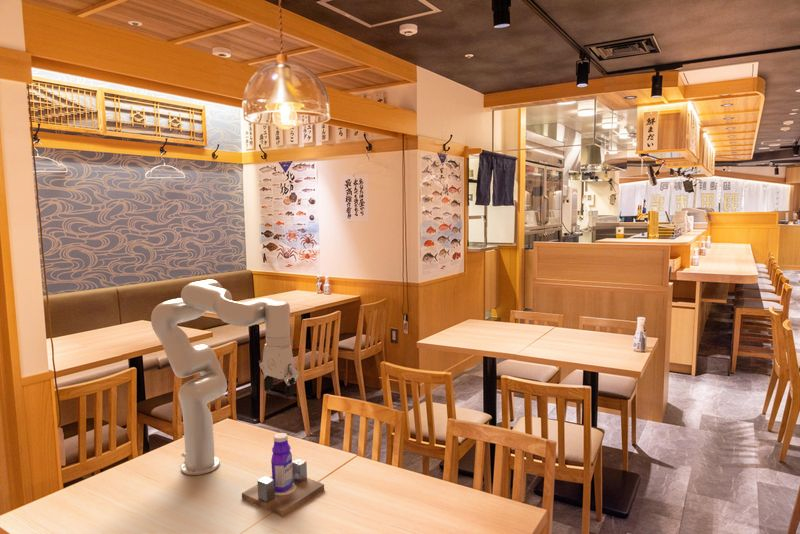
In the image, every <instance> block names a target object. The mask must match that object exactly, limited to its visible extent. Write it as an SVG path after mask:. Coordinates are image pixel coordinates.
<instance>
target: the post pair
mask: <svg viewBox="0 0 800 534" xmlns="http://www.w3.org/2000/svg"><path fill="white" fill-rule="evenodd" d="M307 471H308V470H307V461H306V460H303V459H301V458H295V459H293V460H292V472H293V480H294V481H297V482H299V483H301V482H303V481H304V480H306V479H307V478H308V472H307ZM256 483H257V484H258V499H259V500H262V501H264V502H266V503H268V502H270V501H271V500H273V499H275V491H274V480H273V479H271V478H270V477H268V476H262V477H261V478H259V479H258V480H257V481H256Z"/></svg>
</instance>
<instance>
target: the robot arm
mask: <svg viewBox="0 0 800 534" xmlns="http://www.w3.org/2000/svg"><path fill="white" fill-rule="evenodd" d="M207 312H209V313H212V314H216V316H217V317H218V318H219V320H221V321H222V322H223V323H226V324H230V325H233V326H237V327H243V328H247V327H252V326H255V325H257V324H261V323H265V344H264V345H263V351H262V361H261V362H259V368H260V372H261V374H262V378H263V381H264V382H263V385H264V387H263V389H264V391H265V392H268V391H271V390H273V389H274V378H275V379H278V380H284V382H285V384H286V385H285V386H284V395H285V396H284V398H291V397H293V396H295V384H296V382H297V381H298V379H299V376H300V371H298V370H297V369H296V368H295V365H294V356H293V349H292V345H291V307H290V304H289V303H288V302H287V301H284V300H283V301H282V300H272V299H269V298H265V297H263V298H262V297H261V298H257V299H253V300H249V301H246V302H239V301H238V302H237V301H234V300H233V297H232V293H231V292H230V291H229V289H227V288H223V286H222V285H221V283H220V282H219V281H217V280H215V279H205V280H199V281H198V280H197V281H194V282H193V281H192V282H190V283H188V284H186V285H185V286H183V288H182V290H181V292H180V297H177V298H173V299H169V300H165V301H162V302H161V303H159V304H157V305H156V306H155V307H154V308H153V310H152V312H151V314H150V315H151V316H150V323H151V327H152V329H153V332H154V334H155V335H156V337H157V339H158V340H159V341H160V344H161V346H162V347H163V350H164V353H165V355H166V357H167V361H168V362H169V364H170V365H169V366H170V368H171V369H172V371H173V373H174V375H175V376H176V377H177V378H179V379H184V378H188V377H191V376H194V375H197V374H199V375H200V376H198V377H197V376H196V377H195V378H192V379H190V380H188V381H186V382H184V383H183V384H182V385H181V387H180V388H179V391H178V395H177V396H178V400H179V405H180V409H181V413H182V421H183V435H184V437H183V438H184V451H185V452H182V453H181V457H183V458H184V462H183V463H182V464H181V466H180V467H181V472H182V473H184V474H185V475H189V476H197V475H198V476H199V475H200V476H201V475H204V474H208V473H211V472H213V471H214V470H216V469H217V468H218V467H219V466H220V464H221V463H220V459H219V458H218V456H217V457H216V456H215V455H216V454H215V437H214V422H213V413H212V411H211V410H210V409H209V407H208V403H210V402H212V401H214V400H216V399H218V398H220V397H222V396H224V394H226V392H227V389H228V382H227V378H226V375H225V374H224V371H223V367H222V366H221V364H220V361H219V359H218V357H217V354H216V352H215V351H214V349H213V348H212V347H210V346H209V345H207V344H202V343H201V344H196V345H192V344H191V342H190V340H189V336H188V335H187V333H186V332H185V331H184V330H183V329H182V328H180V327H179V326H178V324H181V323H186V322H189V321H192V320H196V319H198V318H200V317H202V316H203V315H204V314H206V313H207Z"/></svg>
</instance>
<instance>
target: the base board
mask: <svg viewBox="0 0 800 534" xmlns="http://www.w3.org/2000/svg"><path fill="white" fill-rule="evenodd" d="M269 478H271V479H272V475H271V476H269ZM324 491H325V483H321V482H320V481H316V480H314V479H310V478H308V477H307V479H306V480H304V481H303V482H301V483H299V482H297V481H294V480H293V483H292V486H291V488H290V489H289V490H287V491H286V492H276V491H275V499H273V500H271V501H270V502H268V503H266V502H264V501H262V500H259V499H258V483H257V484H255V485H253V486H252V487H250V488H248V489H247V490H245V491H243V492H241V500H243V501H244V502H247V503H250V504H252V505H255V506H257V507H258V508H261V509H262V510H265V511H268V512H270V513H272V514H275V515H276V516H279V517H281V518H284V517H286V516H288V515H289V514H291V512H293V511H295V510H296V509H298V508H299V507H301V506H302V505H304V504H305V503H308V501H310V500H311V499H313V498H315V497H316V496H318V495H319V494H320V493H322V492H324Z"/></svg>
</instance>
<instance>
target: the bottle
mask: <svg viewBox="0 0 800 534" xmlns="http://www.w3.org/2000/svg"><path fill="white" fill-rule="evenodd" d="M271 452H272V455H271V456H272V457H271V460H270V463H271V476H272V479H273V480H274V491H276V492H286V491H287V490H289V489H290V488H291V486H292V483H293V472H292V461H293V455H292V451H291V446H290V444H289V442H288V433H285V432H279V433H276V434H274V436H273V446H272V448H271Z"/></svg>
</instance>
